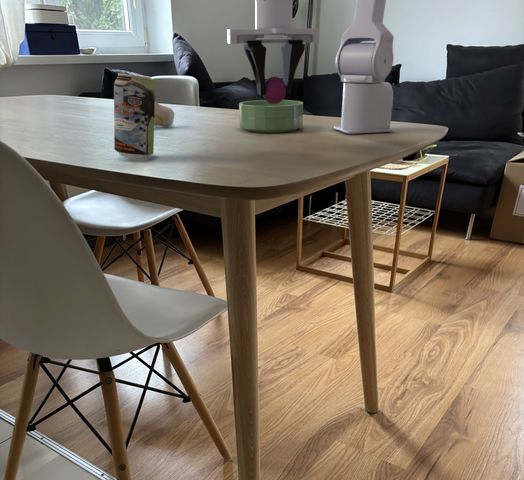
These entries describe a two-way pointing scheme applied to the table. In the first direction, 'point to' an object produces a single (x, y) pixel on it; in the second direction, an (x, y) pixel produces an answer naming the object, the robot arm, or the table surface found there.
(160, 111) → the mug
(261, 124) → the bowl
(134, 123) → the tall printed two-tone box
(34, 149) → the table surface
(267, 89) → the ball
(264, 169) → the table surface
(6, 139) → the table surface
